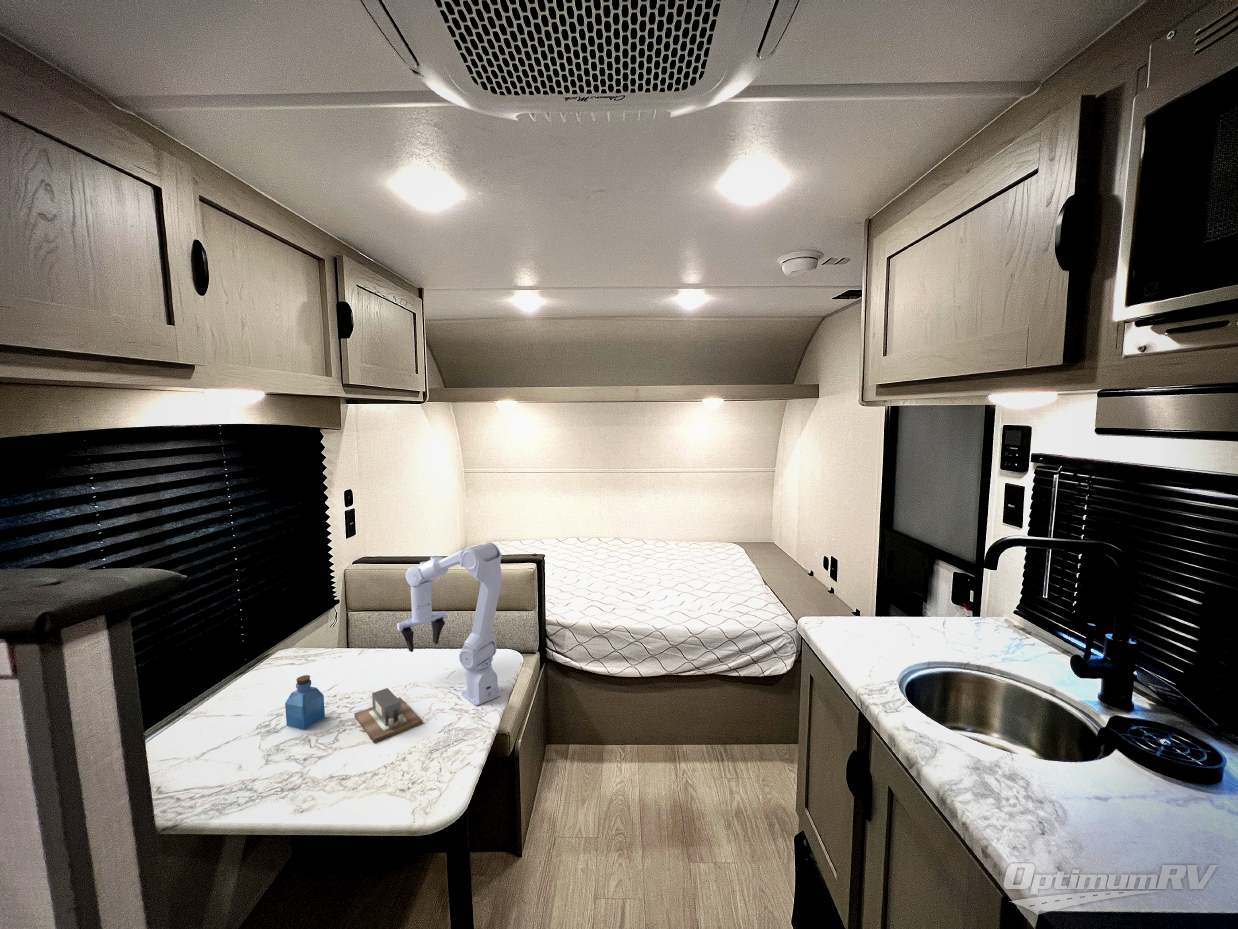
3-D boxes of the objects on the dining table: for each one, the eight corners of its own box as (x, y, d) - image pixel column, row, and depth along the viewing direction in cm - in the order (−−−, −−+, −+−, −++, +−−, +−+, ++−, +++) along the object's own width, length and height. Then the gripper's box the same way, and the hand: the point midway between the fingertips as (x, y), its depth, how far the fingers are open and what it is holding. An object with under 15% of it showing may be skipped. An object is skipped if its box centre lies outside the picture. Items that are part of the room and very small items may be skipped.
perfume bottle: (304, 730, 132) (301, 685, 131) (286, 726, 134) (283, 681, 133) (325, 717, 138) (322, 674, 137) (307, 713, 140) (305, 671, 139)
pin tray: (422, 723, 134) (421, 710, 133) (373, 743, 126) (373, 729, 125) (400, 700, 145) (399, 688, 145) (354, 717, 137) (353, 704, 137)
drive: (401, 720, 134) (400, 701, 133) (385, 726, 131) (384, 707, 130) (388, 705, 141) (387, 687, 140) (372, 711, 138) (371, 693, 138)
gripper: (439, 595, 163) (440, 636, 164) (392, 606, 154) (394, 650, 155) (448, 600, 158) (450, 642, 159) (400, 612, 148) (403, 657, 149)
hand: (423, 647), depth 157 cm, fingers open, 7 cm apart
